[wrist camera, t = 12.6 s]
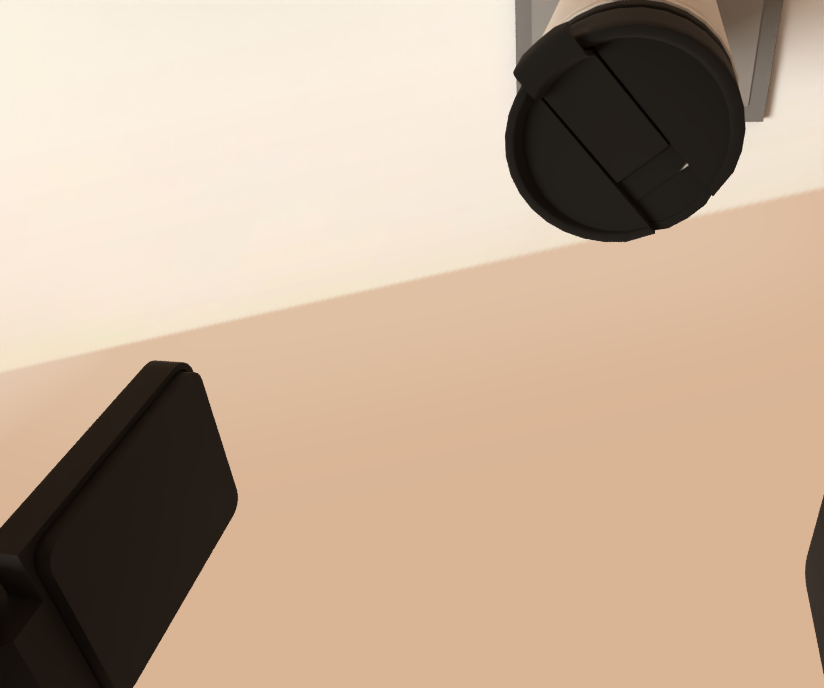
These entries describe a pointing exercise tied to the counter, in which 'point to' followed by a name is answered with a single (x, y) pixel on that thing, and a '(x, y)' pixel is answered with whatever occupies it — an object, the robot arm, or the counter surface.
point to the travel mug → (625, 116)
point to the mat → (745, 30)
